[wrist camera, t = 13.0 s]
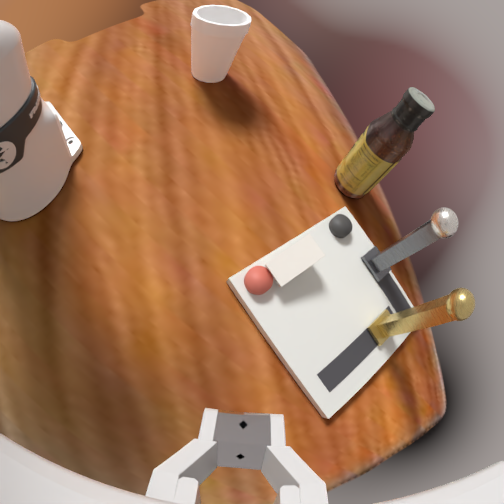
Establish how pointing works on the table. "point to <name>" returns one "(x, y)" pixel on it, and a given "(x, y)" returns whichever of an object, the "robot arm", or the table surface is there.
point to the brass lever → (423, 315)
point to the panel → (325, 313)
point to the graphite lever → (412, 242)
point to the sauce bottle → (382, 145)
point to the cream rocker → (294, 260)
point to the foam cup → (216, 40)
